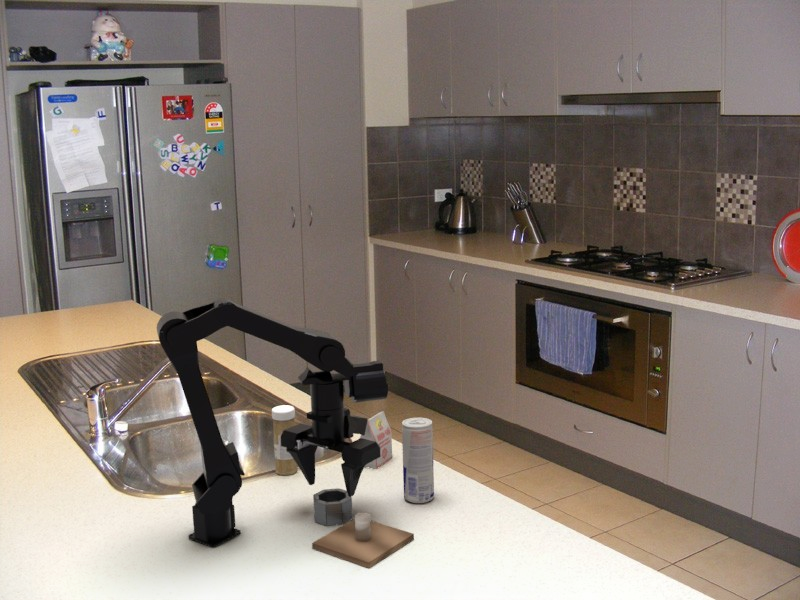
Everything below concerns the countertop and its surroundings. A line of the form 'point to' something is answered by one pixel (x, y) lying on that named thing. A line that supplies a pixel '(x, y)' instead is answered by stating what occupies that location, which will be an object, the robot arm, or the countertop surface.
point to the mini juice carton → (379, 438)
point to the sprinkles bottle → (281, 421)
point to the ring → (332, 507)
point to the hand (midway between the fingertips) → (331, 490)
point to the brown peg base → (363, 541)
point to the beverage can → (418, 460)
